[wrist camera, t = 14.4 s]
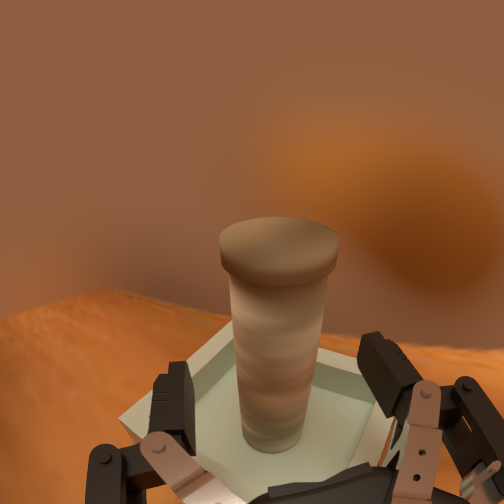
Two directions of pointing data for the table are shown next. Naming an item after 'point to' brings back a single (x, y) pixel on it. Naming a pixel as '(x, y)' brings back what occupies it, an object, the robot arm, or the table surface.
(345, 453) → the tray
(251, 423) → the stop peg
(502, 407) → the table surface
